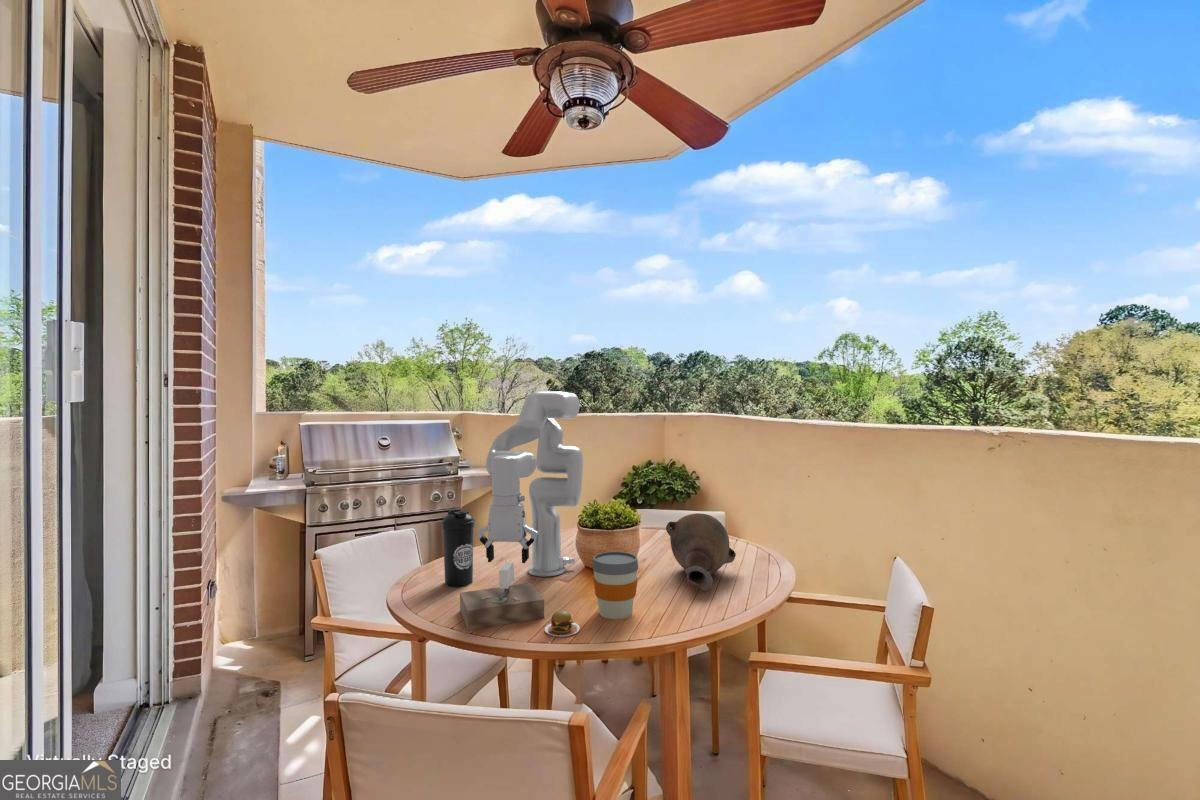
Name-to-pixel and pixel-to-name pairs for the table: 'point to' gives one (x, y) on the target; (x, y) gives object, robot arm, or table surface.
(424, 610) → the table surface
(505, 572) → the peg
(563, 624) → the hamburger
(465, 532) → the water bottle
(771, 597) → the table surface
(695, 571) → the jug
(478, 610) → the brown slab
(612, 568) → the reusable coffee cup
